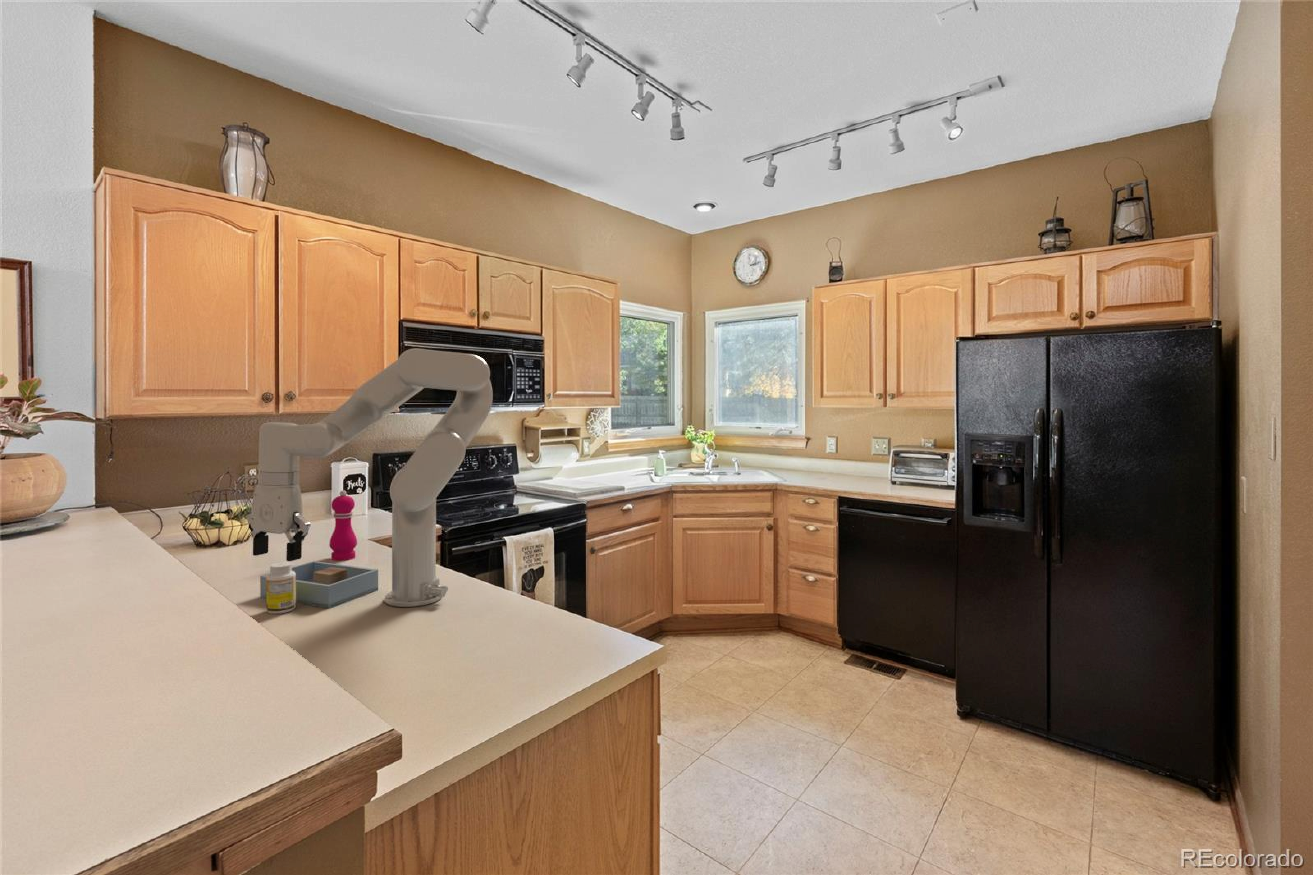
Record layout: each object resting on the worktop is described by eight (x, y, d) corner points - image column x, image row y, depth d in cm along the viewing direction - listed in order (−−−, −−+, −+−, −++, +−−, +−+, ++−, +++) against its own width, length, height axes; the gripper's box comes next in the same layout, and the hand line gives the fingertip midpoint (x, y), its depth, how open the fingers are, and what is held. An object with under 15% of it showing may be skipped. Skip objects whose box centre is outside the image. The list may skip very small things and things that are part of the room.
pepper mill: (336, 562, 171) (336, 493, 170) (324, 558, 175) (324, 490, 174) (361, 557, 177) (361, 490, 176) (349, 553, 181) (349, 487, 180)
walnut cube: (329, 595, 140) (329, 574, 139) (313, 593, 141) (313, 572, 141) (347, 589, 144) (347, 569, 144) (331, 587, 146) (331, 567, 146)
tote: (378, 589, 148) (378, 569, 147) (328, 608, 134) (328, 586, 133) (313, 580, 154) (313, 561, 154) (260, 597, 140) (260, 576, 140)
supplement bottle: (277, 605, 135) (276, 560, 134) (301, 606, 135) (301, 561, 134) (260, 614, 129) (259, 567, 129) (286, 615, 129) (285, 568, 128)
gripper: (233, 477, 129) (231, 555, 130) (293, 484, 124) (291, 566, 125) (265, 474, 136) (263, 548, 137) (324, 481, 131) (322, 558, 132)
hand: (277, 557), depth 131 cm, fingers open, 9 cm apart
